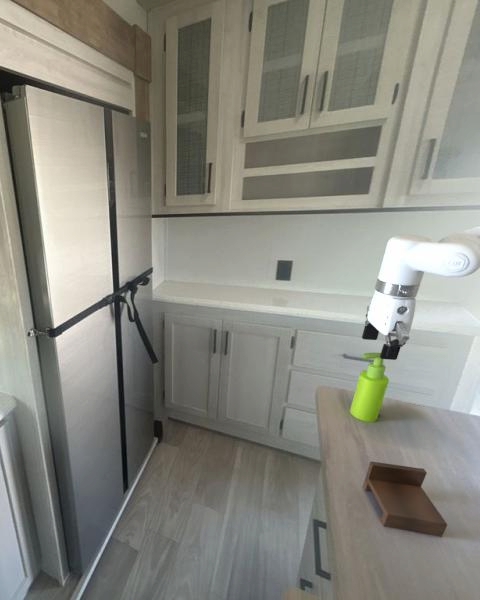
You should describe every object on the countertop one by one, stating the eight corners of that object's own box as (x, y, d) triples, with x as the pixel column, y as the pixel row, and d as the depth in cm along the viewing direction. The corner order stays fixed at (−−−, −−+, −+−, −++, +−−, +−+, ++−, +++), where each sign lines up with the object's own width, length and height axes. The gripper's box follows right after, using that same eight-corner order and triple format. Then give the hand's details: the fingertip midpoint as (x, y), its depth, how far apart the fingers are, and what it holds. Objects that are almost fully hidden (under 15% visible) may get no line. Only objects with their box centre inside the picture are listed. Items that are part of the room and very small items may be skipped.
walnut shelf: (411, 499, 71) (423, 468, 67) (439, 542, 63) (454, 510, 60) (361, 490, 74) (370, 461, 70) (381, 530, 66) (393, 499, 62)
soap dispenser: (341, 407, 97) (356, 348, 89) (368, 407, 96) (385, 348, 88) (354, 421, 92) (370, 360, 84) (382, 422, 90) (401, 360, 83)
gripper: (440, 302, 70) (415, 369, 77) (396, 275, 86) (378, 333, 92) (396, 301, 73) (376, 366, 79) (361, 275, 88) (346, 331, 94)
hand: (377, 348), depth 86 cm, fingers open, 9 cm apart
